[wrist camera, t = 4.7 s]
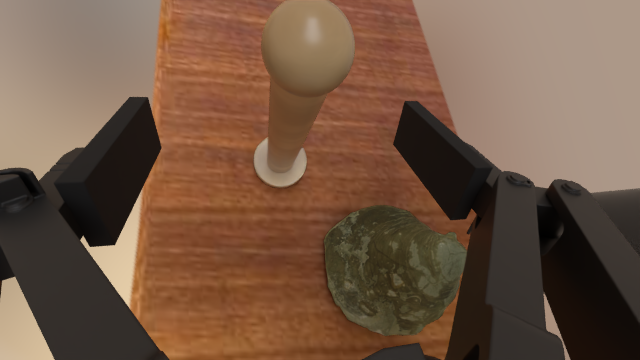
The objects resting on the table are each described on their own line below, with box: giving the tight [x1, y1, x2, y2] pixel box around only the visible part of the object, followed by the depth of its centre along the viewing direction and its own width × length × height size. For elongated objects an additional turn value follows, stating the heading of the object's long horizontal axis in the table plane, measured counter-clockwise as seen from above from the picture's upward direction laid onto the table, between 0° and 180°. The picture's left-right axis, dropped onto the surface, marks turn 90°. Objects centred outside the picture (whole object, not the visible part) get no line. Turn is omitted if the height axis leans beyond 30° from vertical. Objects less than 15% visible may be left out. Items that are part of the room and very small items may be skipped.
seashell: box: [324, 205, 467, 336], centre depth 24 cm, size 10×7×10 cm
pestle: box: [254, 0, 355, 188], centre depth 16 cm, size 4×4×18 cm
